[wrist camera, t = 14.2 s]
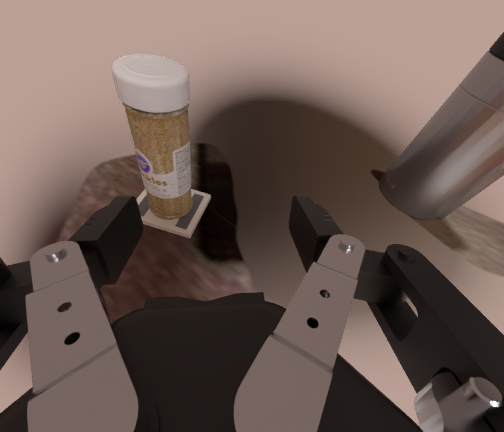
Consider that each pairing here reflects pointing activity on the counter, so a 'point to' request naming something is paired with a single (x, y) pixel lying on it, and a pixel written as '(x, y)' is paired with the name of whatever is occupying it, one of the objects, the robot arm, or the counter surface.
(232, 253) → the counter surface
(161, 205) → the sprinkles bottle
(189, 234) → the letter card
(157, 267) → the counter surface
